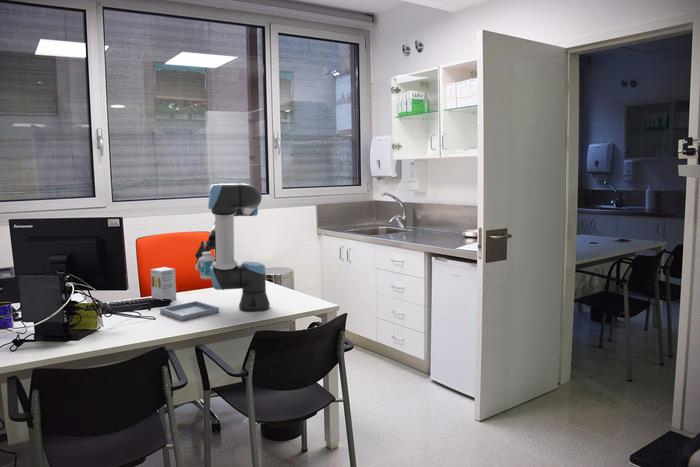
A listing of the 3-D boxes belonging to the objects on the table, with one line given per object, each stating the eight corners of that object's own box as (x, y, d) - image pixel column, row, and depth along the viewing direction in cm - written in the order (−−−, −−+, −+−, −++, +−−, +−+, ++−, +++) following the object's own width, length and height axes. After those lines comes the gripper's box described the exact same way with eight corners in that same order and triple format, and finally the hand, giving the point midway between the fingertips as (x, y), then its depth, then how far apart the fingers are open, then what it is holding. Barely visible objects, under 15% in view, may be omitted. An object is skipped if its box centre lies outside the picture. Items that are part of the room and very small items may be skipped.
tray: (218, 312, 265) (218, 307, 264) (182, 321, 250) (181, 315, 250) (196, 305, 278) (196, 300, 278) (160, 313, 263) (160, 308, 263)
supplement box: (151, 300, 289) (149, 269, 287) (165, 296, 297) (164, 266, 295) (162, 302, 284) (160, 271, 282) (177, 299, 291) (175, 268, 289)
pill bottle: (217, 276, 285) (216, 251, 283) (212, 279, 277) (211, 253, 276) (203, 276, 285) (202, 251, 284) (198, 279, 278) (197, 253, 276)
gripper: (237, 239, 292) (224, 274, 278) (202, 238, 296) (188, 272, 282) (232, 230, 286) (219, 266, 272) (197, 229, 290) (183, 264, 277)
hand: (204, 269), depth 277 cm, fingers closed on pill bottle, 7 cm apart
